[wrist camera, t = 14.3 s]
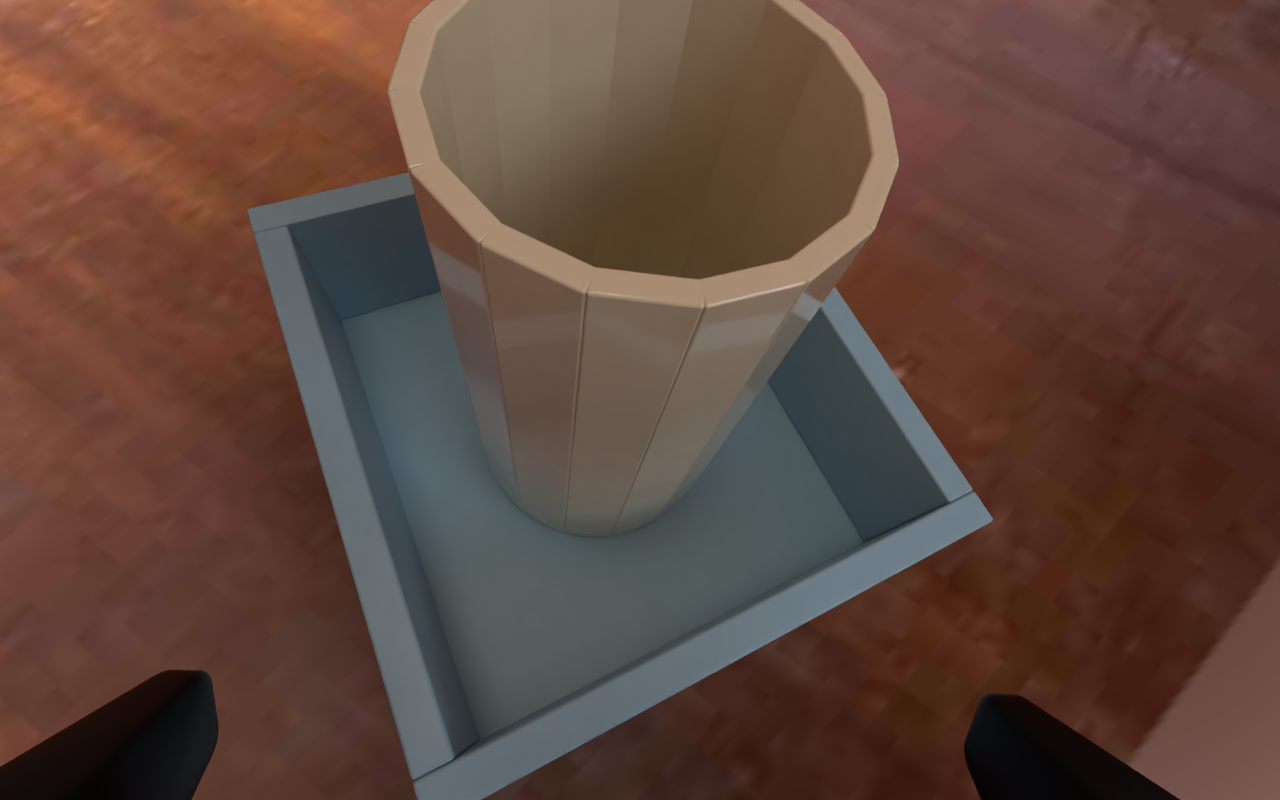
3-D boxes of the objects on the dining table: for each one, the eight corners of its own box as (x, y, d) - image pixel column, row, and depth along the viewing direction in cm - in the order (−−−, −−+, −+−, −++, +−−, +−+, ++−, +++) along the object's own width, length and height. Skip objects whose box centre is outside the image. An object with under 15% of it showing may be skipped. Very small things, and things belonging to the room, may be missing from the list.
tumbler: (648, 579, 17) (811, 400, 7) (438, 472, 18) (269, 143, 7) (733, 389, 20) (942, 52, 10) (551, 302, 21) (553, -111, 10)
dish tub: (888, 559, 19) (995, 519, 15) (462, 787, 15) (425, 830, 11) (679, 213, 24) (710, 102, 19) (315, 318, 20) (245, 208, 15)
